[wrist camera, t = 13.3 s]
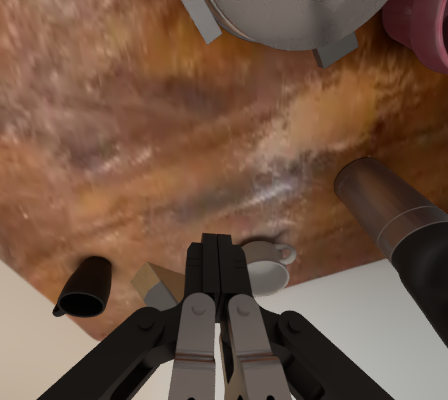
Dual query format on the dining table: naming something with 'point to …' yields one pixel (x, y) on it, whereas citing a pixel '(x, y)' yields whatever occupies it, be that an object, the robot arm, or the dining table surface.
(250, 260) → the teacup
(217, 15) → the oval food canister
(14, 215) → the dining table surface
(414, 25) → the plant pot
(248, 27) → the lid
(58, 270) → the dining table surface
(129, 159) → the dining table surface
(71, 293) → the mug
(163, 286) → the sandwich container
